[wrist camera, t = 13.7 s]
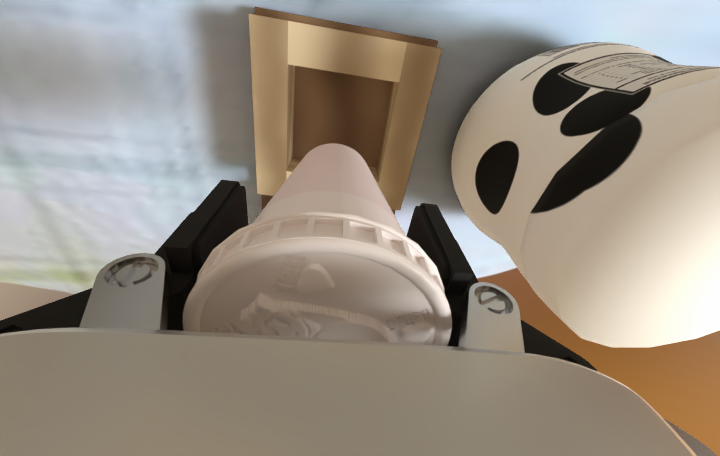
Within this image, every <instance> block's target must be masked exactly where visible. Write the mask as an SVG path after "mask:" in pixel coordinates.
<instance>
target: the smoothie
mask: <svg viewBox="0 0 720 456" xmlns="http://www.w3.org/2000/svg"><path fill="white" fill-rule="evenodd" d="M444 293H445V289H444V286H443V284H442V281H441V278H440V275H439V272H438V269H437V266H436V265H435V264H434V263H433V261H432V260H431V259H430V258H429V257H428V255H427V254H426V253H425V252H424V251H423V249H422V248H421V247H420V246H419V245H418V244H417V243H416V242H414V241H413V240H411V239H409V238H408V237H406V235H405V233H404V231H403V230H402V228H401V227H400V225H399V223H398V221H397V219H396V217H395V216H394V214H393V212H392V210H391V208H390V206H389V205H388V203H387V201H386V199H385V197H384V195H383V193H382V192H381V190H380V188H379V186H378V184H377V182H376V180H375V179H374V177H373V175H372V173H371V171H370V169H369V167H368V166H367V164H366V162H365V160H364V159H363V158H362V156H361V155H360V154H359V153H358V152H357V151H355V150H354V149H352V148H350V147H348V146H345V145H342V144H336V143H330V144H324V145H320V146H318V147H316V148H314V149H312V150H311V151H309V152H308V153H307V154H306V155H305V157H304V158H303V159H302V160H301V162H300V163H299V164H298V166H297V167H296V168H295V169H294V171H293V172H292V173H291V174H290V176H289V177H288V178H287V180H286V181H285V182H284V183H283V185H282V186H281V187H280V189H279V190H278V191H277V192H276V194H275V195H274V196H273V197H272V199H271V200H270V201H269V203H268V204H267V205H266V206H265V208H264V209H263V210H262V212H261V213H260V214H259V215H258V216H257V217H256V219H255V220H254V221H253V222H252V224H251V225H248V226H246V227H243V228H241V229H238V230H237V231H236V232H234V233H233V234H232V235H231V236H229V237H228V238H227V239H226V240H224V241H223V242H222V243H221V244H219V245H218V246H217V247H215V248H214V249H213V250H212V252H211V253H210V255H209V257H208V258H207V260H206V261H205V263H204V265H203V266H202V268H201V269H200V271H199V273H198V277H197V282H196V283H195V285H194V287H193V288H192V290H191V292H190V294H189V295H188V298H187V300H186V303H185V306H184V311H183V330H184V331H196V332H215V333H234V334H253V335H272V336H289V337H307V338H324V339H341V340H358V341H375V342H390V343H406V344H422V345H437V346H447V345H448V342H449V339H450V336H451V331H452V316H451V310H450V307H449V303H448V301H447V299H446V296H445V294H444Z"/></svg>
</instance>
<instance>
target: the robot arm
mask: <svg viewBox="0 0 720 456" xmlns="http://www.w3.org/2000/svg"><path fill="white" fill-rule="evenodd" d="M246 226H248V216H247V203H246V190H245V187H244V186H240V183H239V182H236V181H228V180H221V181H220V182H219V183H218V185H217V186H216V187H215V188H214V189H213V190H212V192H211V193H210V194H209V195H208V196H207V197H206V199H205V200H204V201H203V202H202V203H201V204H200V206H199V207H198V208H197V209H196V210H195V211H194V212H192V213H190V214H189V215H188V216H187V217H186V219H185V220H184V221H183V222H182V223H181V224H180V225H179V227H178V228H177V229H176V230H175V231H174V232H173V233H172V235H171V236H170V237H169V238H168V239H167V240H166V241H165V243H164V244H163V245H162V246H161V247H160V248H159V249H158V251H157V252H156V253H155V254H148V253H141V254H132V255H128V256H124V257H121V258H119V259H116V260H114V261H112V262H111V263H109V264H107V265H106V266H105V267H104V268H102V269H101V270H100V272H99V273H98V275H97V277H96V280H95V282H94V285H93V288H91V289H88V290H86V291H83V292H80V293H77V294H74V295H72V296H69V297H66V298H63V299H60V300H57V301H55V302H52V303H49V304H46V305H43V306H41V307H38V308H35V309H32V310H29V311H27V312H24V313H21V314H18V315H15V316H12V317H10V318H7V319H4V320H1V321H0V456H717V455H716V454H714V453H713V451H711V450H710V449H709V448H708V447H707V446H705V445H704V444H703V443H701V442H700V441H699V440H697V439H696V438H694V437H693V436H691V435H690V434H688V433H686V432H685V431H683V430H682V429H680V428H678V427H677V426H675V425H674V424H672V423H671V422H669V421H668V420H666V419H664V418H663V417H661V416H660V415H659V414H658V413H657V412H656V411H655V410H654V409H653V408H652V407H651V406H650V405H649V404H648V403H647V402H646V401H645V400H644V399H643V398H641V397H640V396H639V395H638V394H637V393H635V392H634V391H632V390H631V389H630V388H628V387H627V386H625V385H623V384H621V383H620V382H618V381H616V380H614V379H612V378H610V377H608V376H606V375H604V374H602V373H600V372H598V371H597V370H596V369H595V368H594V367H593V366H592V365H591V364H590V363H589V362H587V361H586V360H585V359H583V358H582V357H580V356H579V355H577V354H576V353H574V352H572V351H571V350H569V349H568V348H566V347H564V346H563V345H561V344H560V343H558V342H556V341H555V340H553V339H551V338H550V337H548V336H546V335H545V334H543V333H542V332H540V331H538V330H537V329H535V328H534V327H532V326H530V325H529V324H527V323H525V322H524V321H522V320H521V319H520V313H519V307H518V304H517V302H516V301H515V299H514V298H513V297H512V296H511V295H510V294H509V293H508V292H507V291H505V290H504V289H502V288H500V287H498V286H496V285H494V284H490V283H486V282H485V283H484V282H478V280H477V278H476V276H475V274H474V273H473V271H472V269H471V267H470V265H469V263H468V261H467V260H466V258H465V256H464V254H463V252H462V250H461V248H460V246H459V245H458V243H457V241H456V240H455V238H454V237H453V235H452V233H451V231H450V229H449V227H448V225H447V223H446V221H445V220H444V218H443V216H442V214H441V212H440V210H439V208H438V206H437V205H434V204H425V203H422V204H421V205H420V206H416V207H415V209H414V213H413V216H412V219H411V223H410V226H409V230H408V233H407V237H408V238H409V239H411V240H413V241H414V242H416V243H417V244H418V245H419V246H420V247H421V248H422V249H423V251H424V252H425V253H426V254H427V255H428V257H429V258H430V259H431V260H432V261H433V263H434V264H435V265H436V266H437V269H438V272H439V275H440V278H441V281H442V284H443V286H444V289H445V293H444V294H445V296H446V299H447V301H448V303H449V307H450V310H451V316H452V331H451V336H450V339H449V342H448V345H447V346H437V345H422V344H406V343H390V342H375V341H358V340H341V339H324V338H307V337H289V336H272V335H253V334H234V333H215V332H196V331H184V330H183V311H184V306H185V303H186V300H187V298H188V295H189V294H190V292H191V290H192V288H193V287H194V285H195V283H196V282H197V277H198V273H199V271H200V269H201V268H202V266H203V265H204V263H205V261H206V260H207V258H208V257H209V255H210V253H211V252H212V250H213V249H214V248H215V247H217V246H218V245H219V244H221V243H222V242H223V241H224V240H226V239H227V238H228V237H229V236H231V235H232V234H233V233H234V232H236V231H237V230H238V229H241V228H243V227H246Z"/></svg>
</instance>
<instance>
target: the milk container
mask: <svg viewBox="0 0 720 456" xmlns="http://www.w3.org/2000/svg"><path fill="white" fill-rule="evenodd" d="M451 171H452V179H453V184H454V188H455V192H456V195H457V197H458V200H459V202H460V205H461V206H462V208H463V210H464V212H465V213H466V215H467V216H468V218H469V219H470V220H471V221H472V222H473V224H474V225H475V226H476V227H477V228H478V229H479V230H480V231H481V232H483V233H484V234H485V235H487V236H488V237H490V238H491V239H492V240H494V241H496V242H497V243H499V244H500V245H502V246H503V247H504V249H505V250H506V251H507V253H508V254H509V256H510V257H511V259H512V260H513V262H514V263H515V265H516V266H517V268H518V269H519V270H520V272H521V273H522V275H523V276H524V278H525V279H526V280H527V281H528V282H529V284H530V285H531V287H532V289H533V290H534V291H535V292H536V294H537V295H538V296H539V297H540V298H541V299H542V301H543V302H544V303H545V304H546V305H547V306H548V307H549V308H550V309H551V310H552V311H553V312H554V313H555V314H556V315H557V316H558V317H559V318H560V319H561V320H562V321H563V322H564V323H565V324H566V325H567V326H568V327H569V328H570V329H571V330H573V331H574V332H575V333H576V334H577V335H578V336H579V337H581V338H582V339H585V340H588V341H592V342H595V343H599V344H602V345H605V346H609V347H654V346H660V345H665V344H670V343H675V342H680V341H686V340H691V339H696V338H699V337H702V336H704V335H707V334H710V333H713V332H716V331H719V330H720V67H706V66H685V65H676V64H672V63H671V62H669V61H667V60H665V59H663V58H661V57H659V56H657V55H655V54H653V53H651V52H648V51H646V50H643V49H641V48H638V47H634V46H630V45H625V44H619V43H608V42H592V43H581V44H575V45H569V46H564V47H560V48H557V49H553V50H550V51H547V52H544V53H541V54H538V55H536V56H533V57H531V58H529V59H527V60H525V61H523V62H521V63H519V64H517V65H516V66H514V67H513V68H511V69H510V70H508V71H507V72H505V73H504V74H503V75H502V76H500V77H499V78H498V79H497V80H496V81H494V82H493V83H492V84H491V85H490V86H489V87H488V88H487V89H486V90H485V91H484V92H483V93H482V95H481V96H480V97H479V98H478V99H477V101H476V102H475V103H474V105H473V106H472V107H471V109H470V110H469V112H468V114H467V115H466V117H465V119H464V121H463V122H462V125H461V127H460V129H459V131H458V134H457V137H456V140H455V143H454V147H453V152H452V160H451Z"/></svg>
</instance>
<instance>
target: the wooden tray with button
mask: <svg viewBox="0 0 720 456" xmlns="http://www.w3.org/2000/svg"><path fill="white" fill-rule="evenodd" d="M249 33H250V53H251V74H252V95H253V116H254V136H255V157H256V178H257V194H262V210H263V209H264V208H265V206H266V205H267V204H268V203H269V201H270V200H271V199H272V197H273V196H274V195H275V194H276V192H277V191H278V190H279V189H280V187H281V186H282V185H283V183H284V182H285V181H286V180H287V178H288V177H289V176H290V174H291V173H292V172H293V171H294V169H295V168H296V167H297V166H298V164H299V163H300V162H301V160H302V159H303V158H304V157H305V155H306V154H307V153H308V152H309V151H311V150H312V149H314V148H316V147H318V146H320V145H324V144H330V143H336V144H342V145H345V146H348V147H350V148H352V149H354V150H355V151H357V152H358V153H359V154H360V155H361V156H362V158H363V159H364V160H365V162H366V164H367V166H368V167H369V169H370V171H371V173H372V175H373V177H374V179H375V180H376V182H377V184H378V186H379V188H380V190H381V192H382V193H383V195H384V197H385V199H386V201H387V203H388V205H389V206H390V208H391V210H392V212H393V214H395V210H400V209H401V205H402V201H403V197H404V194H405V190H406V186H407V182H408V178H409V174H410V170H411V167H412V163H413V159H414V155H415V151H416V147H417V144H418V140H419V136H420V132H421V128H422V124H423V121H424V117H425V113H426V109H427V105H428V101H429V98H430V94H431V90H432V86H433V82H434V78H435V74H436V71H437V67H438V63H439V59H440V55H441V51H442V49H441V48H436V47H437V43H438V41H436V40H431V39H425V38H420V37H415V36H409V35H404V34H398V33H393V32H388V31H382V30H377V29H371V28H366V27H361V26H355V25H350V24H344V23H339V22H333V21H328V20H323V19H317V18H312V17H306V16H301V15H296V14H290V13H285V12H279V11H274V10H269V9H263V8H258V7H255V15H254V14H249Z"/></svg>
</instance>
